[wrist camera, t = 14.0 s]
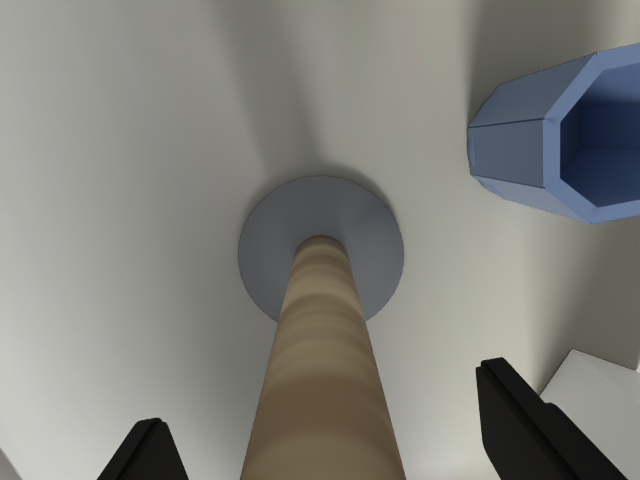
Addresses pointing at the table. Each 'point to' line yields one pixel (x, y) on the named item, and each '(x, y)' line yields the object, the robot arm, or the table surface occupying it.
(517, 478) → the robot arm
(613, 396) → the milk
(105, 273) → the table surface
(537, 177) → the cup
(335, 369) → the wooden pestle
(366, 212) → the coaster
